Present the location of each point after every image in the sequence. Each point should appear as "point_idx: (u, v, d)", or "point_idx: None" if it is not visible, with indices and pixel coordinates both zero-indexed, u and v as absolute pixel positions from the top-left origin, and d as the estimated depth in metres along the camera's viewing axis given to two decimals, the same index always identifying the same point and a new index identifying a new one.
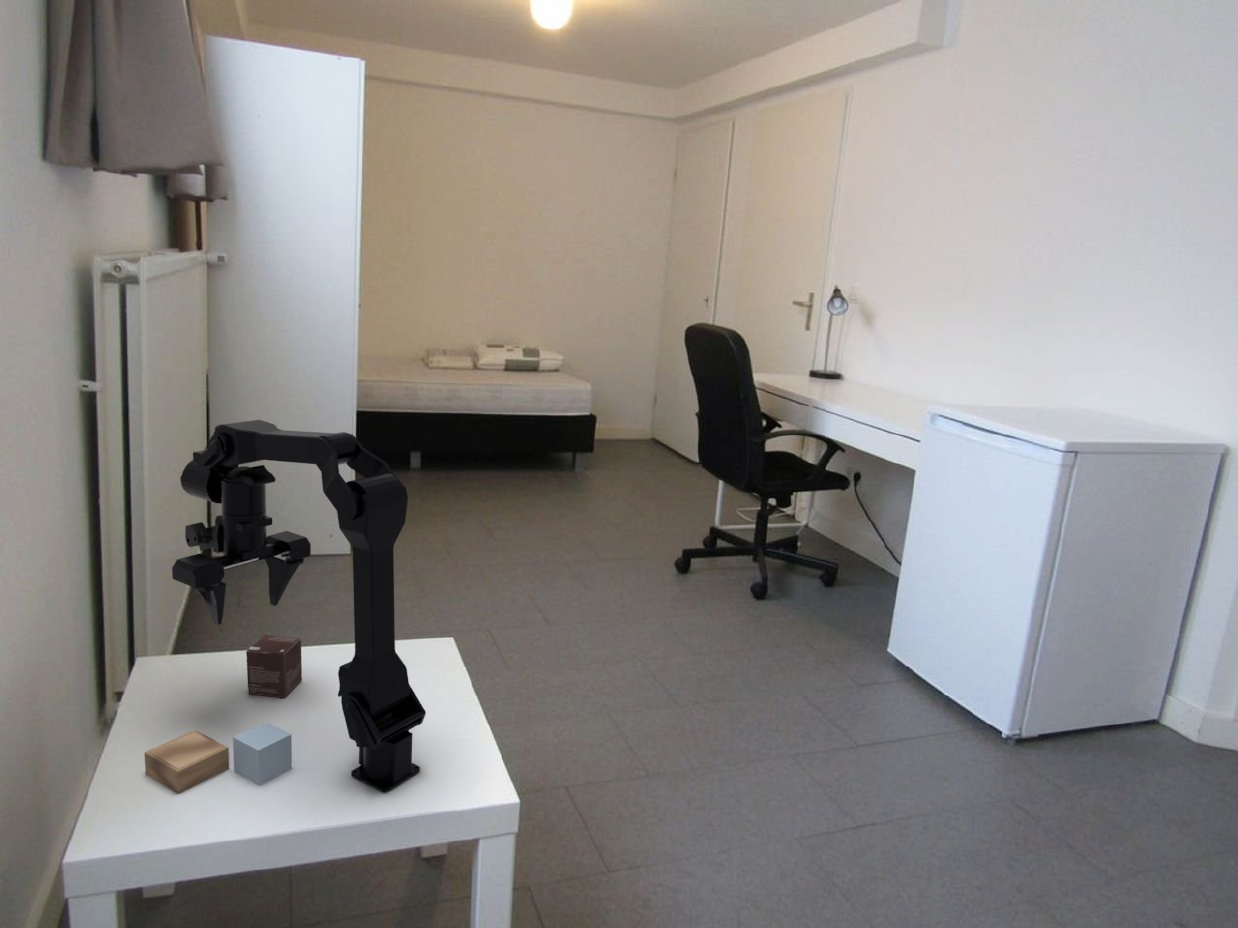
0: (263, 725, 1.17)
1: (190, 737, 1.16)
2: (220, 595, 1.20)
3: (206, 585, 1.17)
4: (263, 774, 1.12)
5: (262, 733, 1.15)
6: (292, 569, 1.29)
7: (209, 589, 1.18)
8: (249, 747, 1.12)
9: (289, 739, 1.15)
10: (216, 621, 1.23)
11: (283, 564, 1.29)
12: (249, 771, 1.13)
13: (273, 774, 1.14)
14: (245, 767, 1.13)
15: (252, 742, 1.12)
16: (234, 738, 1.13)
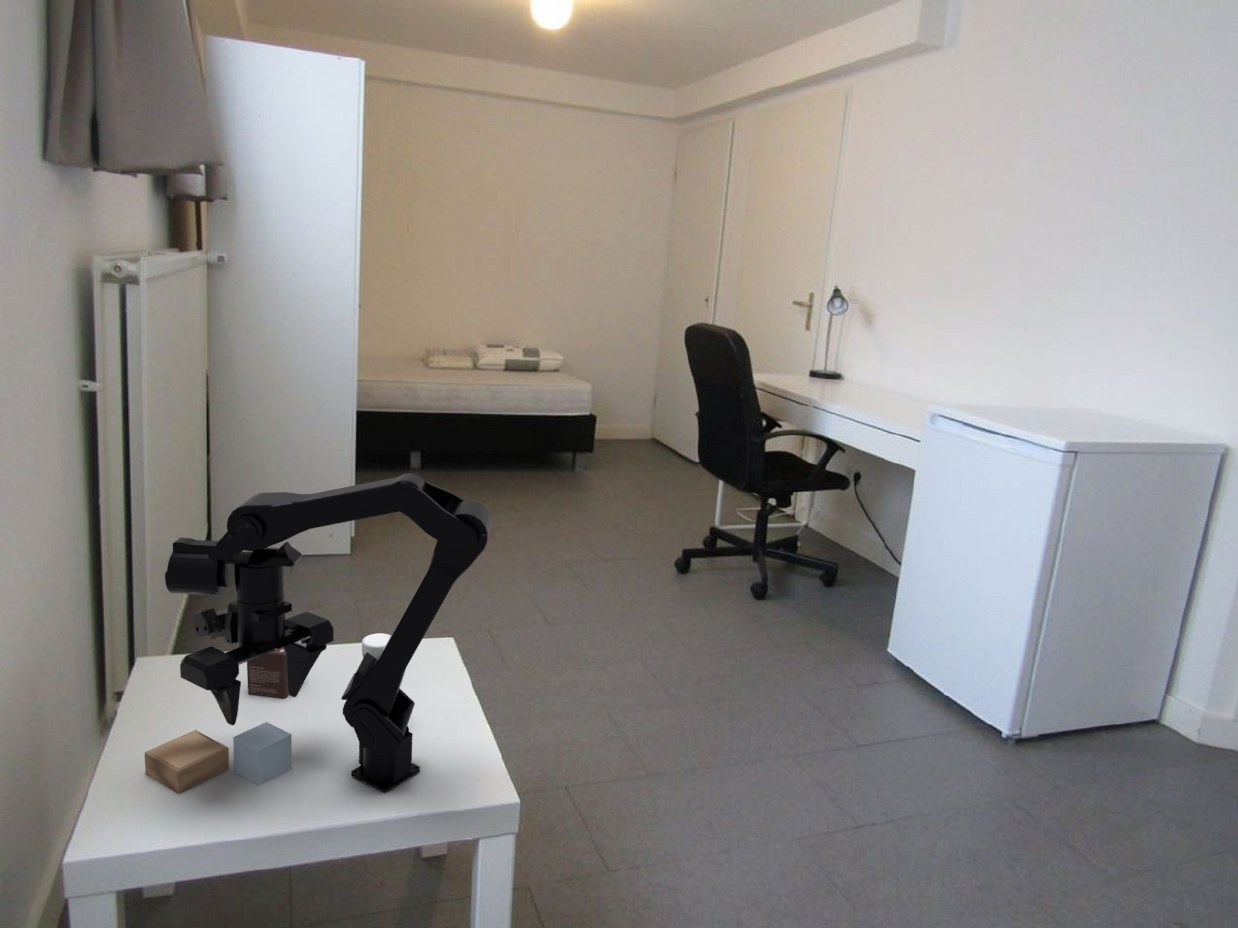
0: (263, 725, 1.17)
1: (190, 737, 1.16)
2: (234, 694, 1.06)
3: (219, 686, 1.03)
4: (263, 774, 1.12)
5: (262, 733, 1.15)
6: (314, 657, 1.16)
7: (222, 690, 1.04)
8: (249, 747, 1.12)
9: (289, 739, 1.15)
10: (230, 721, 1.09)
11: (303, 652, 1.15)
12: (249, 771, 1.13)
13: (273, 774, 1.14)
14: (245, 767, 1.13)
15: (252, 742, 1.12)
16: (234, 738, 1.13)
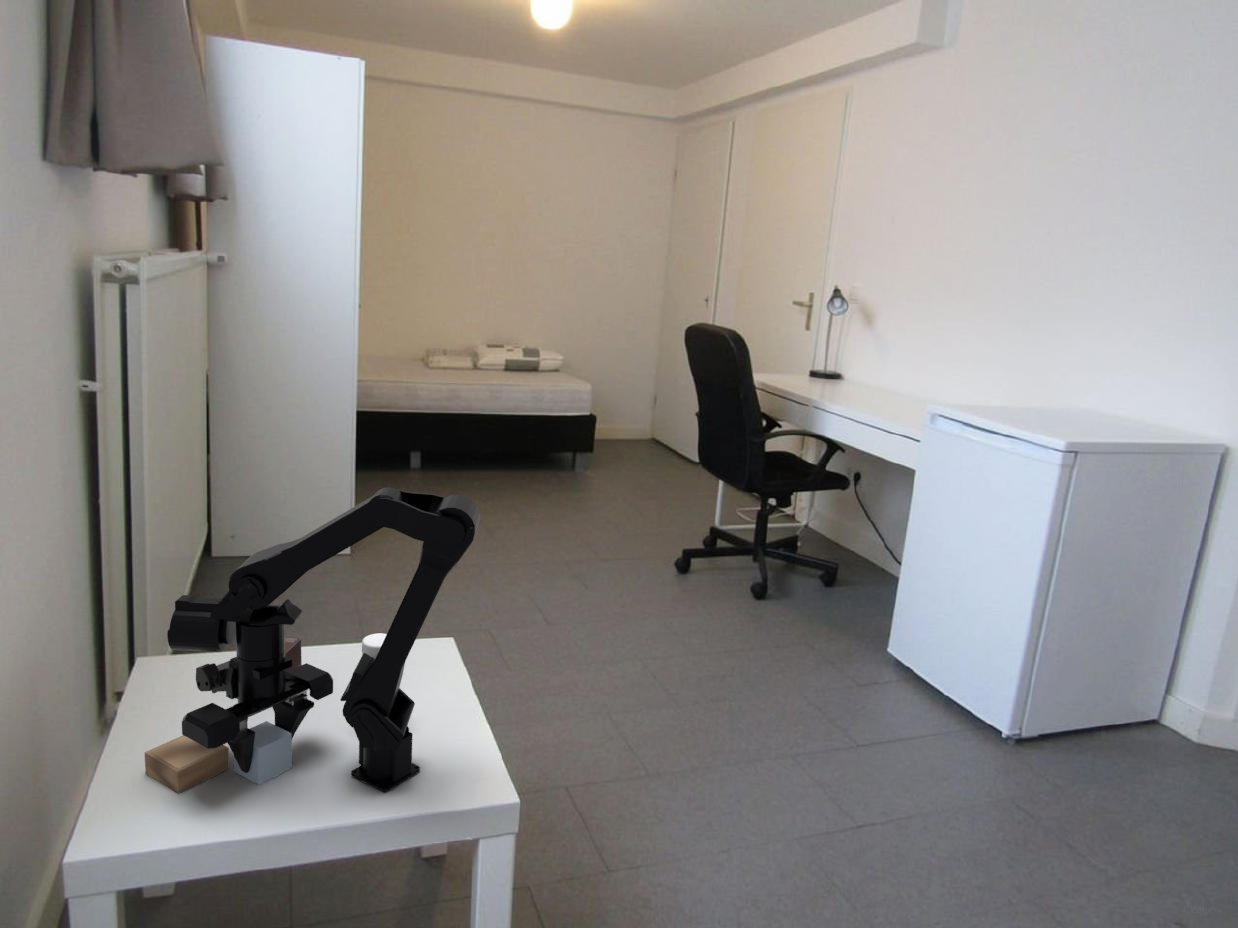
0: (263, 724, 1.17)
1: None
2: (249, 744, 1.10)
3: (220, 744, 1.05)
4: (263, 773, 1.12)
5: (262, 732, 1.15)
6: (301, 716, 1.16)
7: (237, 741, 1.07)
8: None
9: (289, 738, 1.15)
10: (243, 769, 1.12)
11: (291, 710, 1.16)
12: (249, 770, 1.13)
13: (273, 773, 1.14)
14: None
15: None
16: None
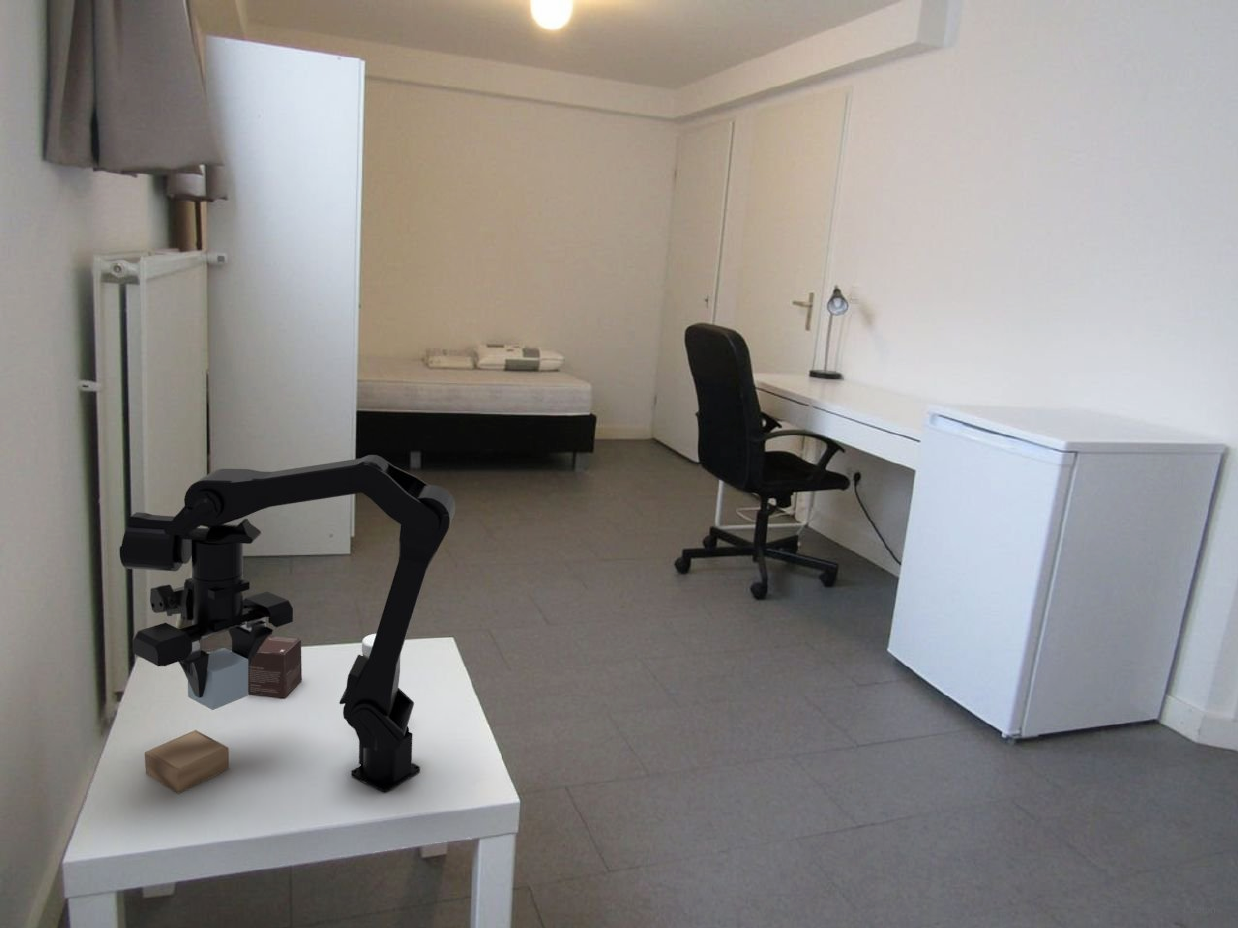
0: (220, 651, 1.14)
1: (190, 737, 1.16)
2: (202, 666, 1.06)
3: (170, 662, 1.02)
4: (217, 698, 1.09)
5: (218, 657, 1.12)
6: (259, 642, 1.13)
7: (189, 661, 1.04)
8: None
9: (245, 664, 1.12)
10: (197, 694, 1.09)
11: (248, 636, 1.12)
12: (203, 695, 1.09)
13: (228, 699, 1.11)
14: None
15: None
16: None
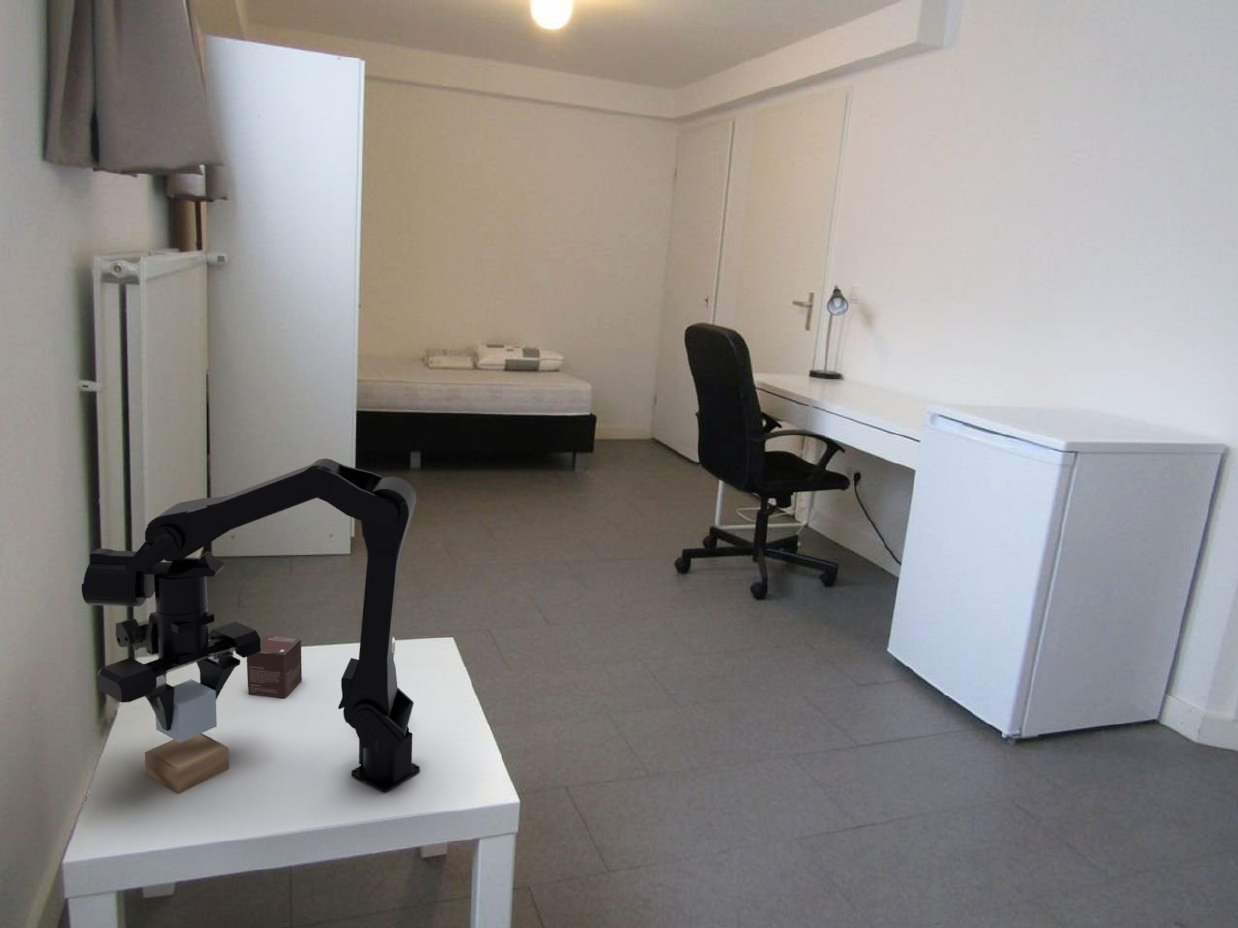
0: (187, 682, 1.14)
1: None
2: (168, 700, 1.07)
3: (134, 698, 1.02)
4: (185, 731, 1.09)
5: (185, 690, 1.12)
6: (226, 673, 1.13)
7: (154, 696, 1.05)
8: None
9: (213, 696, 1.12)
10: (165, 727, 1.09)
11: (215, 668, 1.13)
12: None
13: (196, 731, 1.11)
14: None
15: None
16: None
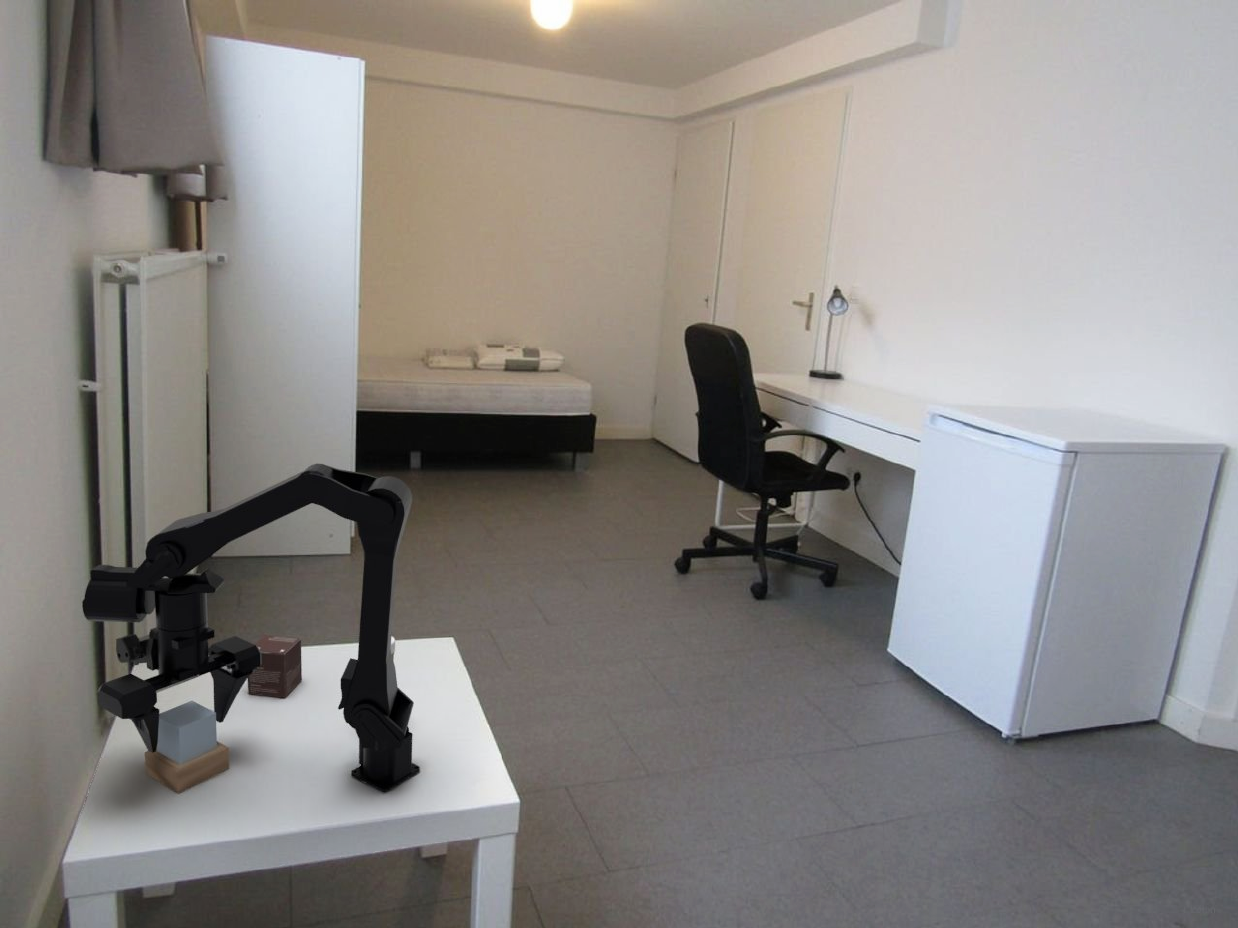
0: (188, 704, 1.14)
1: None
2: (153, 722, 1.06)
3: (135, 715, 1.03)
4: (185, 753, 1.10)
5: (186, 711, 1.13)
6: (239, 683, 1.15)
7: (139, 718, 1.03)
8: (170, 725, 1.10)
9: (213, 717, 1.13)
10: (150, 749, 1.08)
11: (229, 677, 1.15)
12: (171, 750, 1.10)
13: (196, 753, 1.12)
14: (167, 746, 1.11)
15: (174, 721, 1.10)
16: None
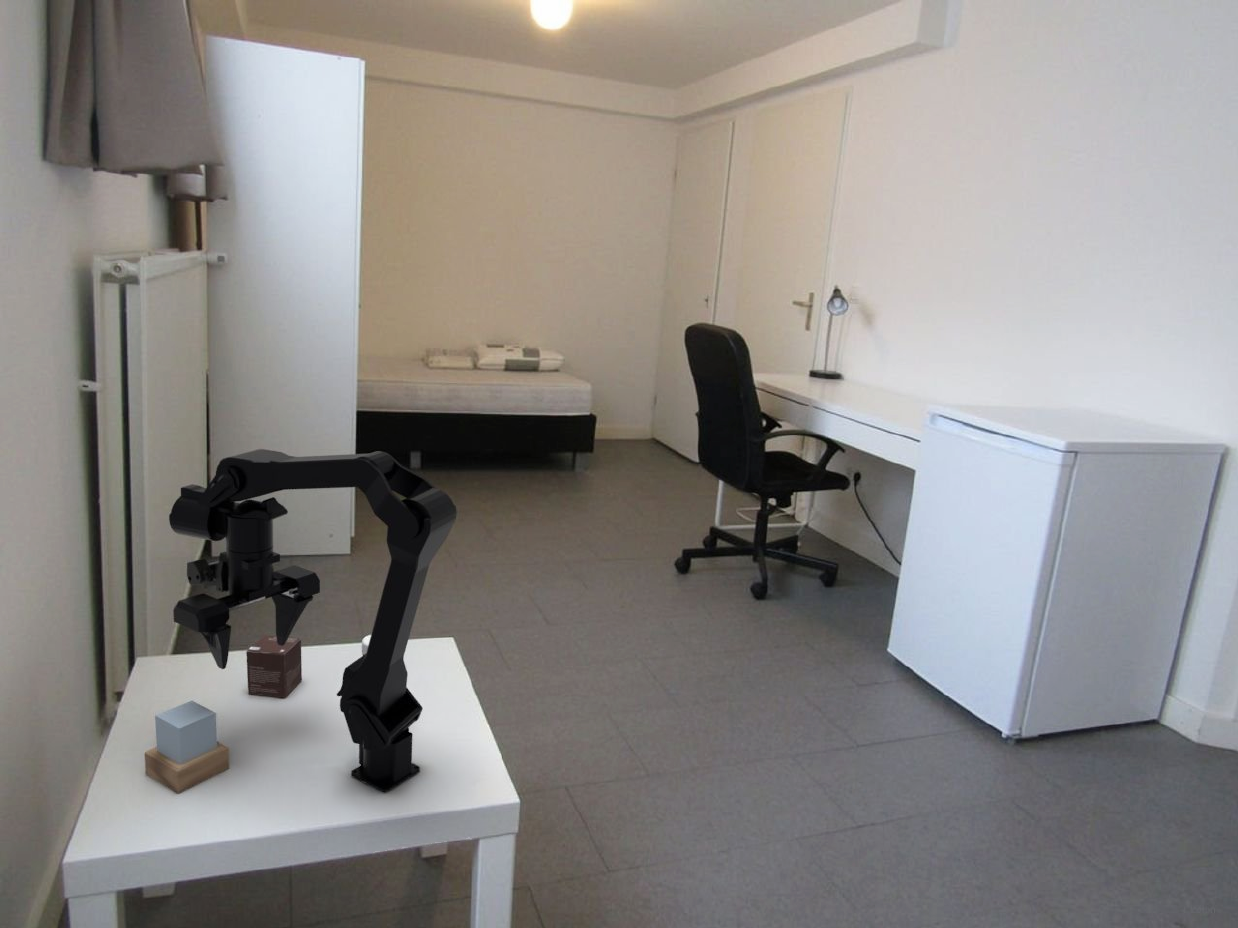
0: (188, 704, 1.14)
1: None
2: (225, 638, 1.12)
3: (210, 629, 1.09)
4: (185, 753, 1.10)
5: (186, 711, 1.13)
6: (301, 607, 1.22)
7: (213, 633, 1.10)
8: (170, 725, 1.10)
9: (213, 717, 1.13)
10: (220, 665, 1.15)
11: (291, 602, 1.21)
12: (171, 750, 1.10)
13: (196, 753, 1.12)
14: (167, 746, 1.11)
15: (174, 721, 1.10)
16: (156, 716, 1.11)
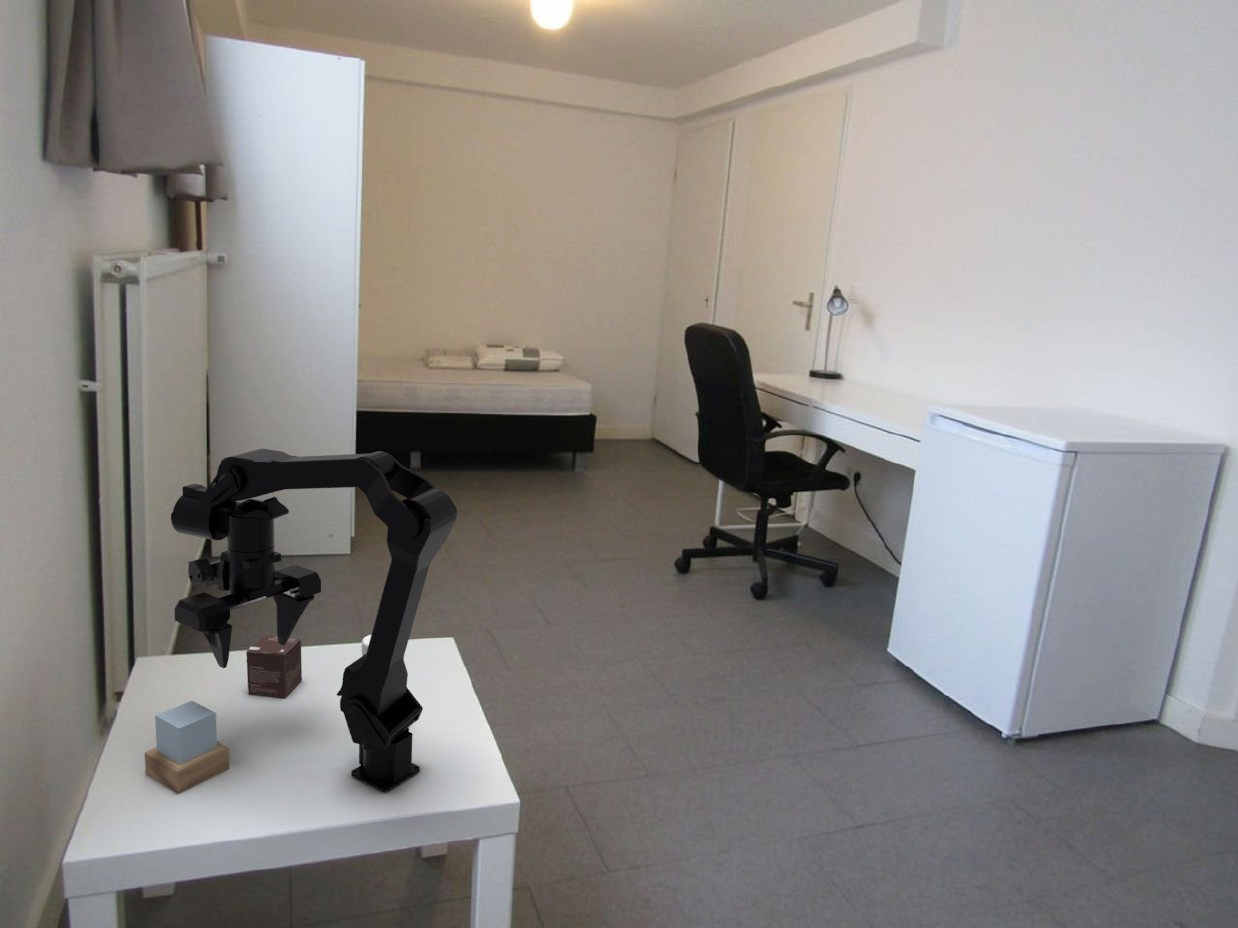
0: (188, 704, 1.14)
1: None
2: (225, 637, 1.12)
3: (211, 628, 1.09)
4: (185, 753, 1.10)
5: (186, 711, 1.13)
6: (302, 607, 1.22)
7: (214, 632, 1.10)
8: (170, 725, 1.10)
9: (213, 717, 1.13)
10: (221, 664, 1.15)
11: (292, 601, 1.21)
12: (171, 750, 1.10)
13: (196, 753, 1.12)
14: (167, 746, 1.11)
15: (174, 721, 1.10)
16: (156, 716, 1.11)
